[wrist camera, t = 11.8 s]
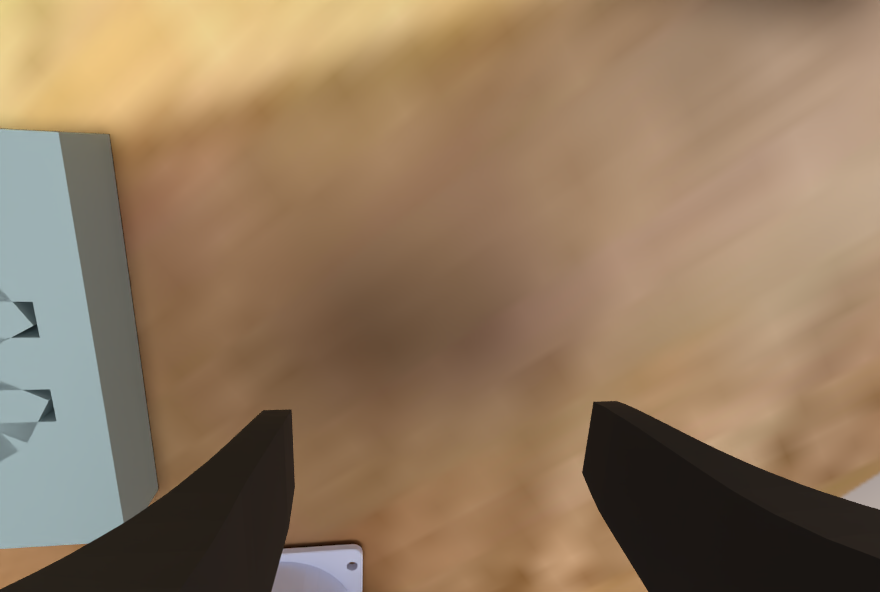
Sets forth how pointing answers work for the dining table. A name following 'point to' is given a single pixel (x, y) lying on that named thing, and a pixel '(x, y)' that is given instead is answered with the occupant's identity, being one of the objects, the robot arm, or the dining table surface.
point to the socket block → (67, 347)
